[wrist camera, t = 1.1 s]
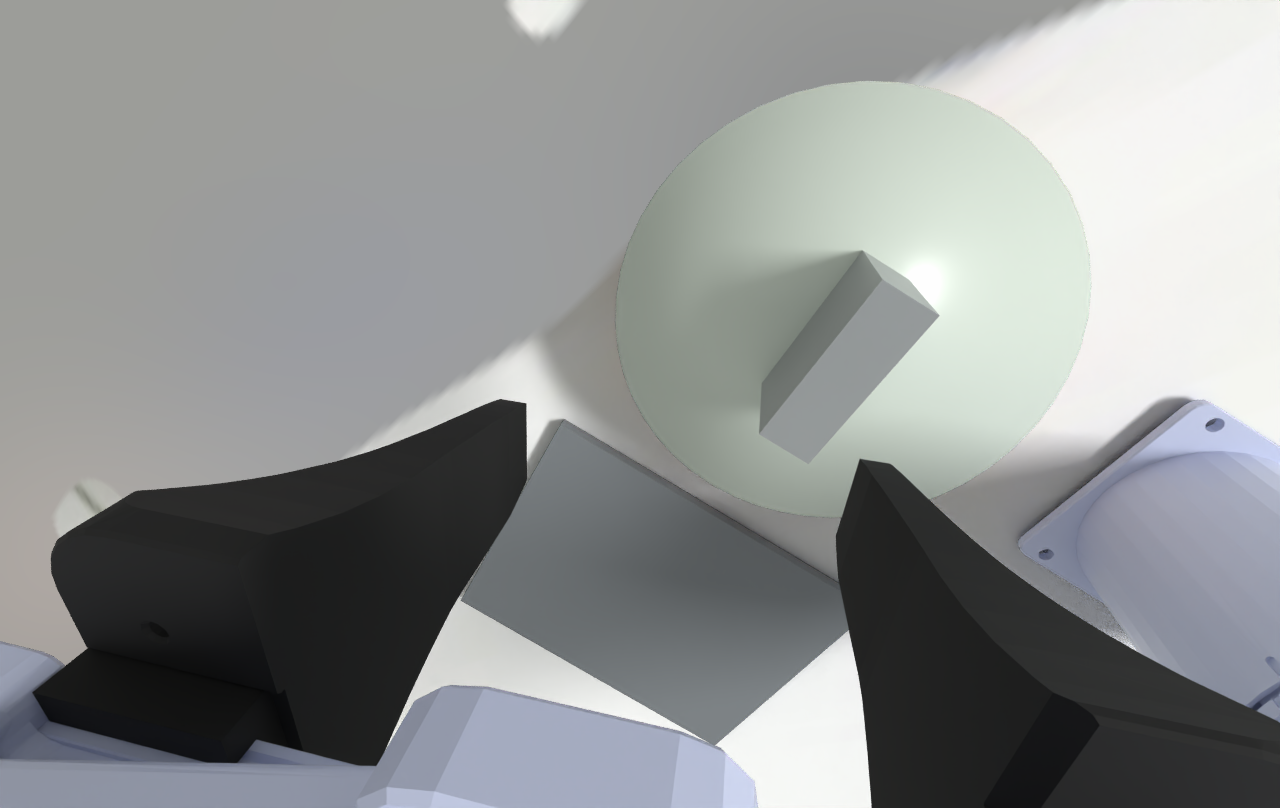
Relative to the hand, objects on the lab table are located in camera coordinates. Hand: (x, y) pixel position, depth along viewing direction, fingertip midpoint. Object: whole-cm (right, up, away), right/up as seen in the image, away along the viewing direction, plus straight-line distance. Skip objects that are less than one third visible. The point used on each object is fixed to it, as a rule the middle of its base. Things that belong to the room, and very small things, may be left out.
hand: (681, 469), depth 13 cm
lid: (+5, +4, +6) cm, 9 cm away
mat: (0, -8, +16) cm, 18 cm away
